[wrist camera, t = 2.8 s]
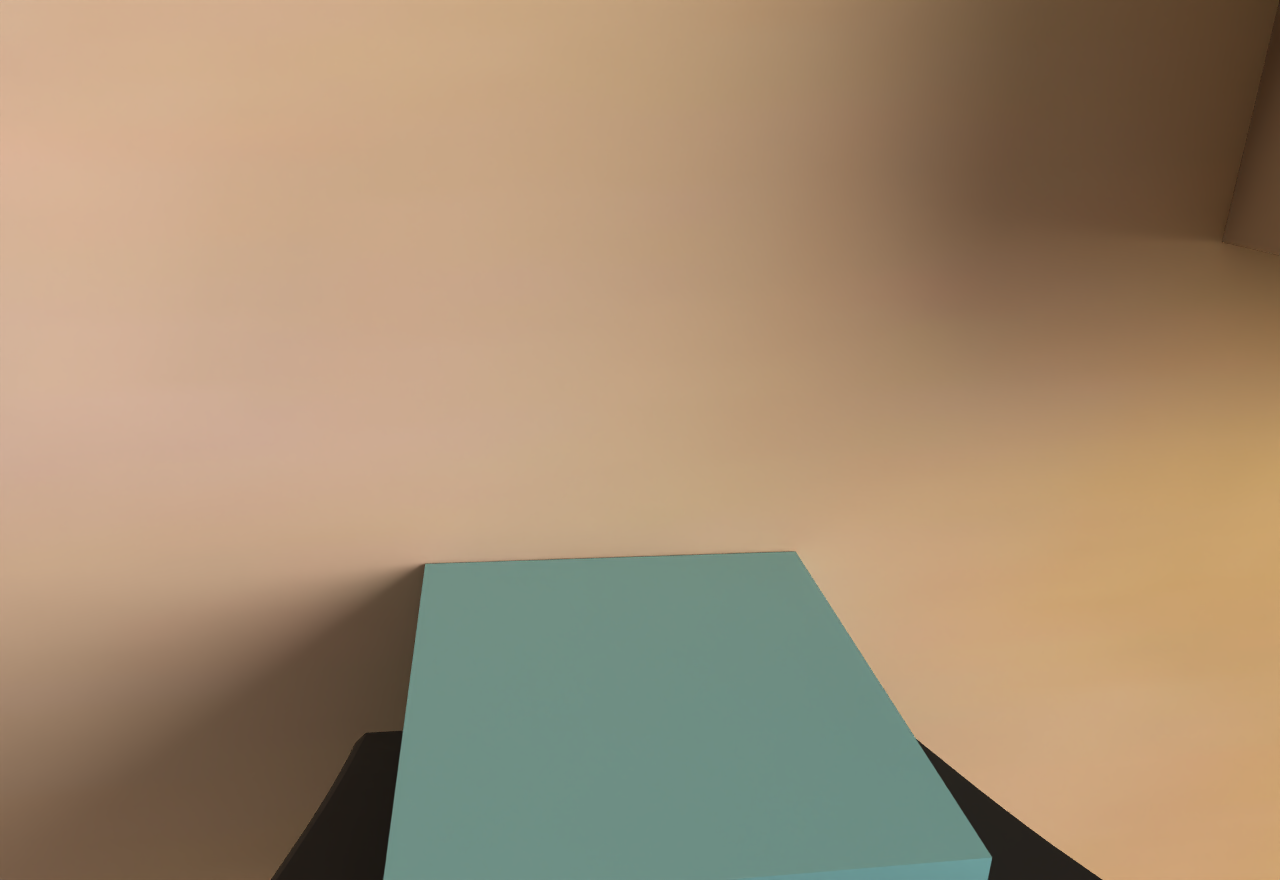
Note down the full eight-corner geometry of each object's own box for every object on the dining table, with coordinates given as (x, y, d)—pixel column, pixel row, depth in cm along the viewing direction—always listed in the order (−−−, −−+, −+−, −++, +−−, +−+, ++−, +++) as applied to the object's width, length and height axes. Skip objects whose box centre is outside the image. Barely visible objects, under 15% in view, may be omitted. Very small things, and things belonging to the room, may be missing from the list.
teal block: (766, 840, 13) (912, 1245, 9) (438, 864, 13) (409, 1319, 8) (795, 551, 12) (991, 856, 7) (425, 563, 11) (379, 910, 7)
